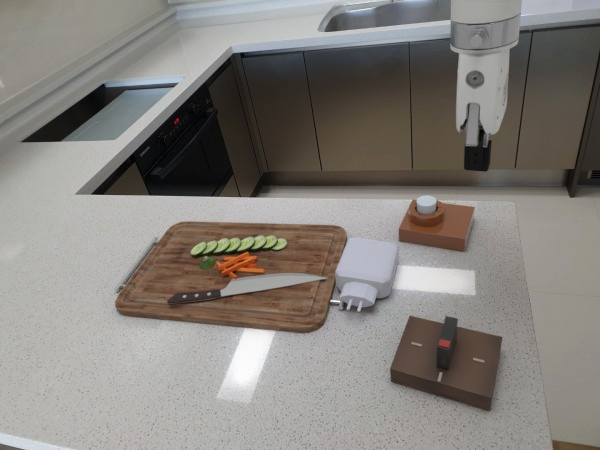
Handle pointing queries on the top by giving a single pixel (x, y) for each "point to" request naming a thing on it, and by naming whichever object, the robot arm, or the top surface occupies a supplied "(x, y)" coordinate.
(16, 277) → the top surface
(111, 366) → the top surface
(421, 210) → the round grey push button
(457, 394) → the brown flat block
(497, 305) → the top surface
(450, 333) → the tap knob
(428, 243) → the brown base with collar
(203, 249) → the chopping board
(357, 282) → the charger
